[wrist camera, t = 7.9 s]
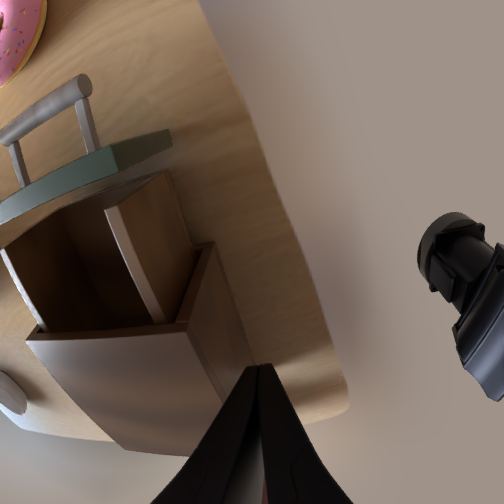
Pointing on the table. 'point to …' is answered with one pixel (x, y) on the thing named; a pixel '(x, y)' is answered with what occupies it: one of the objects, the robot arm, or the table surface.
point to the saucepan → (12, 395)
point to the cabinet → (156, 367)
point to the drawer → (96, 230)
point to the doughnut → (19, 34)
